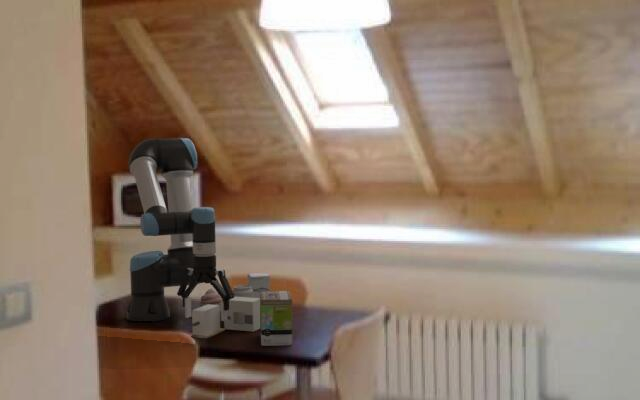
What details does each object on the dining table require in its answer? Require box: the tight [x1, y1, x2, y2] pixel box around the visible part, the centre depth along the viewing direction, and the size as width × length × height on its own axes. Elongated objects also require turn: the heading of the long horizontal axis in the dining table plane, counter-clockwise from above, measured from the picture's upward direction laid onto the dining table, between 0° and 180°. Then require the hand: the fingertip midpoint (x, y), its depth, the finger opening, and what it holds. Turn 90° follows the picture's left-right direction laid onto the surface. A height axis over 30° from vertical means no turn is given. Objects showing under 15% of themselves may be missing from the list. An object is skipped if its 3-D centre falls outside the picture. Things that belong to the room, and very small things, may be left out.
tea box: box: [259, 290, 293, 347], centre depth 290 cm, size 15×10×15 cm, turn 5°
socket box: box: [223, 297, 260, 333], centre depth 307 cm, size 11×6×10 cm, turn 67°
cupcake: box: [197, 288, 223, 311], centre depth 327 cm, size 9×9×10 cm
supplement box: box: [246, 272, 271, 298], centre depth 339 cm, size 7×7×13 cm
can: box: [232, 284, 254, 298], centre depth 320 cm, size 8×8×12 cm
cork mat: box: [189, 327, 226, 339], centre depth 301 cm, size 7×12×1 cm, turn 157°
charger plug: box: [191, 304, 221, 336], centre depth 300 cm, size 4×16×8 cm, turn 157°
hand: (206, 318), depth 300 cm, fingers open, 13 cm apart
